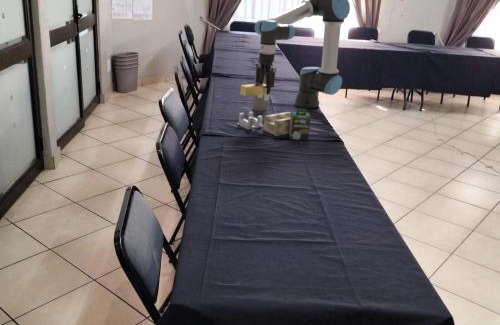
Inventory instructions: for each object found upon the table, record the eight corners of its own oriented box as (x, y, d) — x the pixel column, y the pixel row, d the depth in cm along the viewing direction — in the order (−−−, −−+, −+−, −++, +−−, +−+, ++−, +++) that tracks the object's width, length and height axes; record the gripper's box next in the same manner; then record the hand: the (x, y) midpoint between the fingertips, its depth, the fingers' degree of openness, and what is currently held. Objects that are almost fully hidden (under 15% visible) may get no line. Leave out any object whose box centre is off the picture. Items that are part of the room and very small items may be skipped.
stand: (252, 122, 238) (253, 111, 235) (263, 127, 231) (263, 116, 229) (237, 124, 232) (237, 113, 230) (247, 130, 226) (248, 118, 223)
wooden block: (262, 92, 231) (263, 83, 230) (267, 94, 228) (268, 85, 226) (240, 94, 223) (240, 85, 222) (245, 96, 220) (246, 87, 218)
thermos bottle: (267, 107, 265) (271, 59, 254) (265, 111, 258) (269, 62, 247) (254, 106, 266) (257, 58, 255) (251, 109, 259) (255, 60, 248)
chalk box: (306, 134, 225) (310, 105, 220) (308, 140, 217) (312, 111, 211) (288, 133, 225) (291, 104, 219) (289, 139, 217) (293, 110, 211)
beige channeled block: (287, 125, 237) (288, 111, 234) (300, 131, 229) (301, 117, 226) (263, 129, 227) (264, 115, 224) (276, 135, 220) (277, 121, 217)
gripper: (250, 50, 226) (247, 95, 235) (272, 56, 213) (268, 104, 222) (262, 49, 230) (258, 94, 239) (284, 55, 217) (279, 102, 226)
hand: (263, 98), depth 231 cm, fingers closed on wooden block, 4 cm apart
